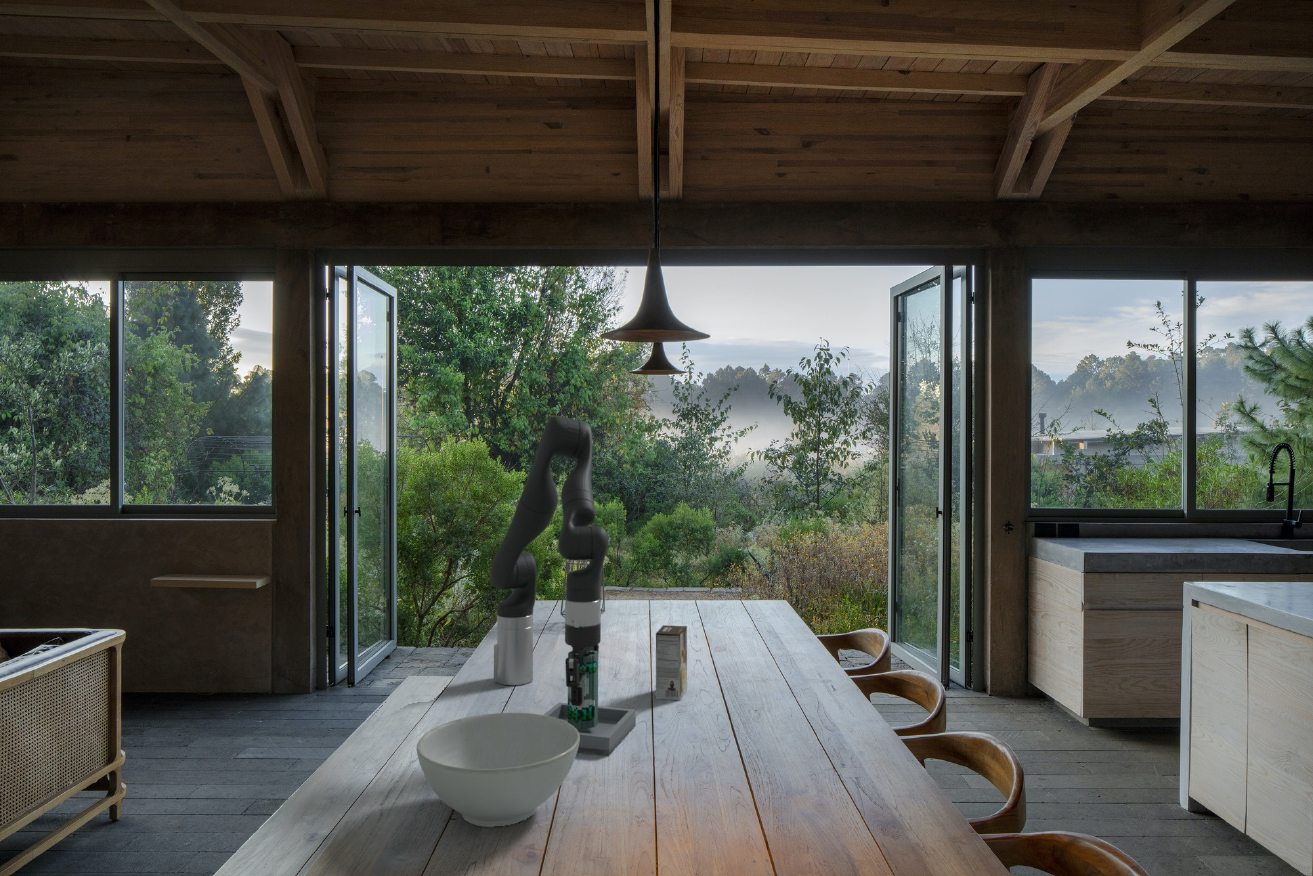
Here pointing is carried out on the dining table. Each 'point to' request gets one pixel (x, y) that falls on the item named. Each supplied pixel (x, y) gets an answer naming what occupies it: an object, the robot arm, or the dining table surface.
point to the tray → (601, 728)
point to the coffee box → (671, 662)
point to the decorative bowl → (498, 764)
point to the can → (586, 696)
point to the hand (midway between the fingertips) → (582, 699)
